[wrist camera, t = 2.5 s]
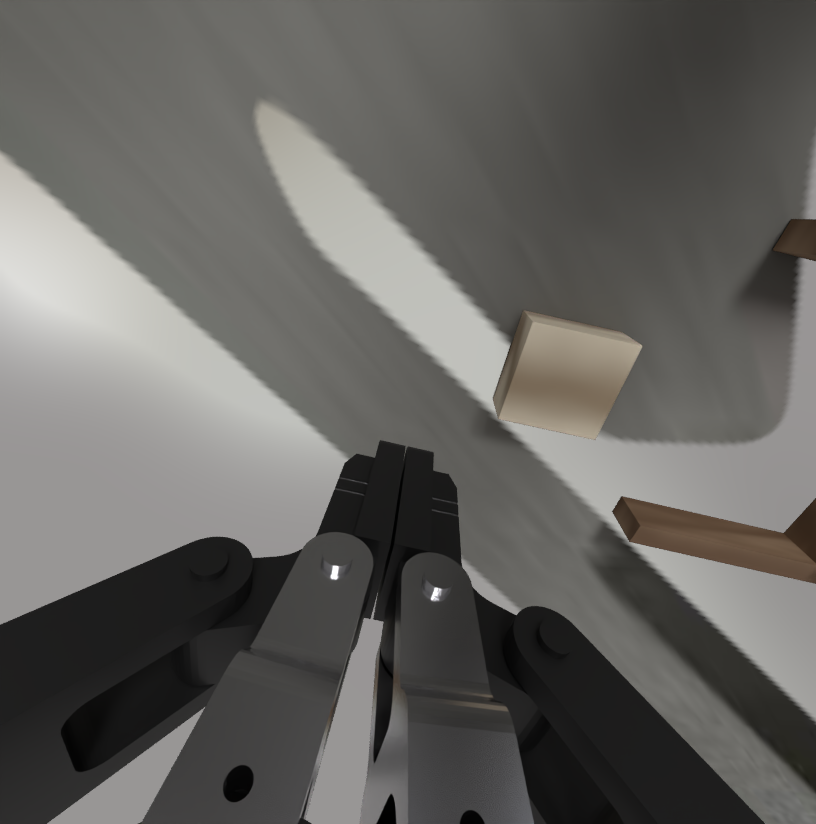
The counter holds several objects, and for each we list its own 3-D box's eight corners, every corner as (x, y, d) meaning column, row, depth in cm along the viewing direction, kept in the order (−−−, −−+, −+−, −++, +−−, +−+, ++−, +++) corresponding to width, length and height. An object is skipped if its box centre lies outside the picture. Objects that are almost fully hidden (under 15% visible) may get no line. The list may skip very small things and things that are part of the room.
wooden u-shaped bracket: (791, 219, 20) (846, 220, 17) (1045, 284, 20) (1137, 294, 17) (612, 511, 29) (629, 541, 26) (789, 551, 29) (824, 585, 27)
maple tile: (522, 309, 23) (533, 321, 20) (619, 330, 23) (642, 345, 20) (492, 397, 26) (498, 419, 23) (579, 416, 26) (595, 440, 23)
